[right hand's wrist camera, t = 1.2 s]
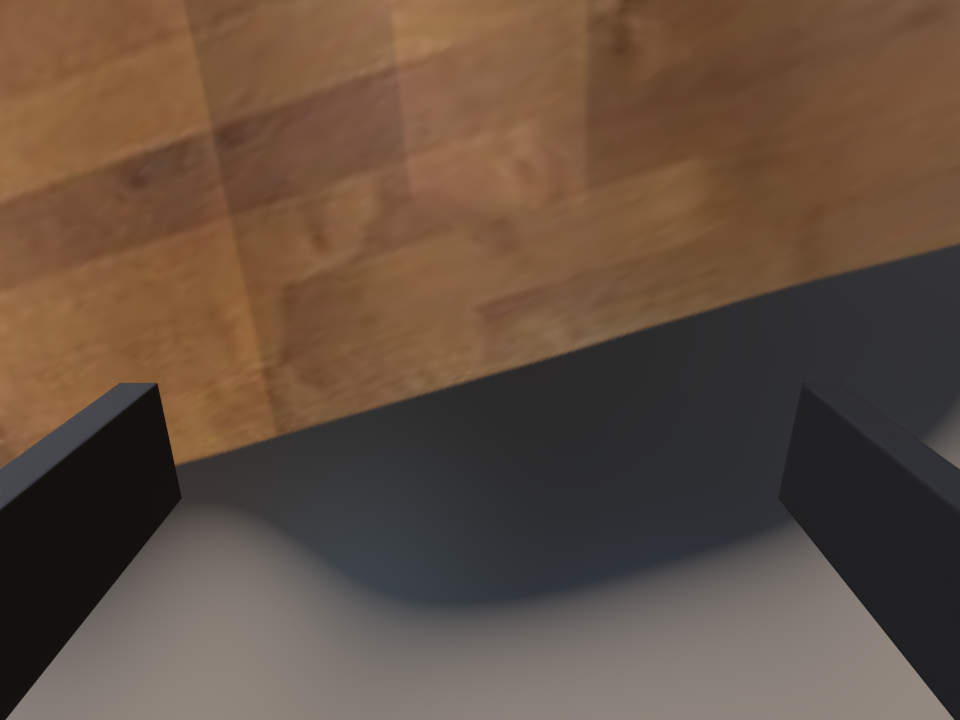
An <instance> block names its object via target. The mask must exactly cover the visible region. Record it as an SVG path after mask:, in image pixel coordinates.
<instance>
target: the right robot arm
mask: <svg viewBox="0 0 960 720" xmlns="http://www.w3.org/2000/svg"><path fill="white" fill-rule="evenodd" d="M779 499H780V501H781V502H782V503H783V505H784V506H785V507H786V508H787V510H788V511H789V512H790V513H791V515H792V516H793V517H794V518H795V520H796V521H797V522H798V524H799V525H800V526H801V527H802V529H803V530H804V531H805V532H806V534H807V535H808V536H809V537H810V539H811V540H812V541H813V542H814V544H815V545H816V546H817V547H818V549H819V550H820V551H821V552H822V554H823V555H824V556H825V557H826V559H827V560H828V561H829V563H830V564H831V565H832V566H833V567H834V569H835V570H836V571H837V572H838V574H839V575H840V576H841V578H842V579H843V580H844V581H845V583H846V584H847V585H848V586H849V588H850V589H851V590H852V591H853V593H854V594H855V595H856V596H857V598H858V599H859V600H860V601H861V603H862V604H863V605H864V607H865V608H866V609H867V610H868V612H869V613H870V614H871V615H872V617H873V618H874V619H875V620H876V622H877V623H878V624H879V625H880V627H881V628H882V629H883V630H884V632H885V633H886V634H887V635H888V637H889V638H890V639H891V640H892V642H893V643H894V644H895V646H896V647H897V648H898V649H899V651H900V652H901V653H902V654H903V656H904V657H905V658H906V659H907V661H908V662H909V663H910V664H911V666H912V667H913V668H914V669H915V671H916V672H917V673H918V674H919V676H920V677H921V678H922V679H923V681H924V682H925V683H926V684H927V686H928V687H929V688H930V689H931V691H932V692H933V693H934V695H935V696H936V697H937V698H938V700H939V701H940V702H941V703H942V705H943V706H944V707H945V708H946V710H947V711H948V712H949V713H950V715H951V716H952V717H953V718H954V720H960V469H958V468H957V467H956V466H954V465H953V464H951V463H950V462H949V461H947V460H946V459H944V458H943V457H942V456H940V455H939V454H938V453H936V452H935V451H933V450H932V449H931V448H929V447H928V446H926V445H925V444H924V443H922V442H921V441H920V440H918V439H917V438H915V437H914V436H913V435H911V434H910V433H908V432H907V431H906V430H904V429H903V428H902V427H900V426H899V425H897V424H896V423H895V422H893V421H892V420H890V419H889V418H888V417H886V416H885V415H884V414H882V413H881V412H879V411H878V410H876V409H875V408H874V407H872V406H871V405H870V404H868V403H867V402H866V401H864V400H863V399H861V398H860V397H859V396H857V395H856V394H854V393H853V392H852V391H850V390H849V389H848V388H846V387H845V386H843V385H842V384H841V383H803V384H802V388H801V393H800V398H799V403H798V407H797V412H796V417H795V422H794V426H793V431H792V436H791V441H790V445H789V450H788V455H787V460H786V464H785V469H784V474H783V479H782V483H781V488H780V493H779ZM180 500H181V493H180V488H179V484H178V479H177V474H176V469H175V464H174V460H173V455H172V450H171V445H170V441H169V436H168V431H167V426H166V422H165V417H164V412H163V407H162V403H161V398H160V393H159V388H158V384H157V383H119V384H118V385H117V386H115V387H114V388H112V389H111V390H110V391H108V392H107V393H106V394H104V395H103V396H101V397H100V398H99V399H97V400H96V401H94V402H93V403H92V404H90V405H89V406H88V407H86V408H85V409H83V410H82V411H81V412H79V413H78V414H76V415H75V416H74V417H72V418H71V419H70V420H68V421H67V422H65V423H64V424H63V425H61V426H60V427H58V428H57V429H56V430H54V431H53V432H52V433H50V434H49V435H47V436H46V437H45V438H43V439H42V440H40V441H39V442H38V443H36V444H35V445H34V446H32V447H31V448H29V449H28V450H27V451H25V452H24V453H22V454H21V455H20V456H18V457H17V458H16V459H14V460H13V461H11V462H10V463H9V464H7V465H6V466H4V467H3V468H2V469H0V720H6V718H7V717H8V716H9V715H10V713H11V712H12V711H13V710H14V708H15V707H16V706H17V704H18V703H19V702H20V701H21V700H22V698H23V697H24V696H25V695H26V693H27V692H28V691H29V689H30V688H31V687H32V686H33V684H34V683H35V682H36V681H37V679H38V678H39V677H40V676H41V674H42V673H43V672H44V671H45V669H46V668H47V667H48V666H49V664H50V663H51V662H52V661H53V659H54V658H55V657H56V656H57V654H58V653H59V652H60V651H61V649H62V648H63V647H64V645H65V644H66V643H67V642H68V640H69V639H70V638H71V637H72V635H73V634H74V633H75V632H76V630H77V629H78V628H79V627H80V625H81V624H82V623H83V622H84V620H85V619H86V618H87V616H88V615H89V614H90V613H91V612H92V610H93V609H94V608H95V607H96V605H97V604H98V603H99V601H100V600H101V599H102V598H103V596H104V595H105V594H106V593H107V591H108V590H109V589H110V588H111V586H112V585H113V584H114V583H115V581H116V580H117V579H118V578H119V576H120V575H121V574H122V573H123V571H124V570H125V569H126V567H127V566H128V565H129V564H130V563H131V561H132V560H133V559H134V557H135V556H136V555H137V554H138V552H139V551H140V550H141V549H142V547H143V546H144V545H145V544H146V542H147V541H148V540H149V539H150V537H151V536H152V535H153V534H154V532H155V531H156V530H157V529H158V527H159V526H160V525H161V524H162V522H163V521H164V520H165V518H166V517H167V516H168V515H169V513H170V512H171V511H172V510H173V508H174V507H175V506H176V505H177V503H178V502H179V501H180Z"/></svg>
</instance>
